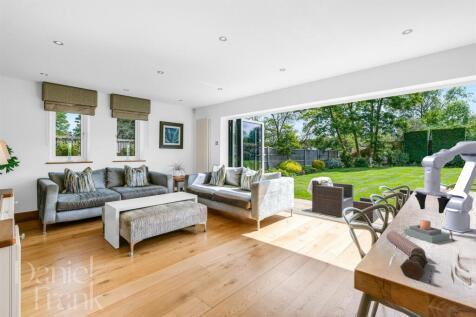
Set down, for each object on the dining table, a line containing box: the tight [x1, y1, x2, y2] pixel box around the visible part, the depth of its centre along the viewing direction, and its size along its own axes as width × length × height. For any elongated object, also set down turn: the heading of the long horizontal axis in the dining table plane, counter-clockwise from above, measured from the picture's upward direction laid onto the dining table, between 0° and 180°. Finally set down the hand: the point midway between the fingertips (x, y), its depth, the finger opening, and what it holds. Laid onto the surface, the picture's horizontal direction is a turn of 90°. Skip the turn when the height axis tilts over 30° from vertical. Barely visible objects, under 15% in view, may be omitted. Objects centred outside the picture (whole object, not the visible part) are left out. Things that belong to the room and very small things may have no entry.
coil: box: [386, 230, 427, 257], centre depth 89 cm, size 5×5×18 cm
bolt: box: [399, 252, 429, 281], centre depth 74 cm, size 6×5×15 cm
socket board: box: [404, 224, 451, 244], centre depth 103 cm, size 12×11×4 cm
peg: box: [419, 219, 432, 230], centre depth 102 cm, size 4×4×7 cm
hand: (431, 211), depth 108 cm, fingers open, 7 cm apart
